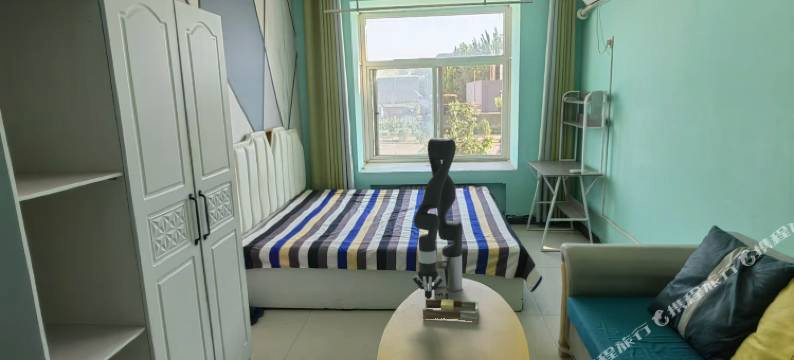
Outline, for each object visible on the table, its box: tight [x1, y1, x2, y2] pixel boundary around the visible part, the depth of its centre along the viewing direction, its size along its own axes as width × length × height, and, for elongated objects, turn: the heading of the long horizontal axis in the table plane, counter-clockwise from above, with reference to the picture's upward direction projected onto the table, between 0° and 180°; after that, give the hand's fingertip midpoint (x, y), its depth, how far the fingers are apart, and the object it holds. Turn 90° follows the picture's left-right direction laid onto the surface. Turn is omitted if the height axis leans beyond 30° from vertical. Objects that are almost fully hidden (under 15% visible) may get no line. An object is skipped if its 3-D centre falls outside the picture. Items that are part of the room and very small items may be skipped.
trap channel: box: [422, 298, 479, 324], centre depth 193 cm, size 10×23×6 cm, turn 79°
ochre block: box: [441, 298, 455, 311], centre depth 193 cm, size 5×5×4 cm
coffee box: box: [433, 260, 450, 300], centre depth 208 cm, size 9×6×16 cm
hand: (428, 298), depth 193 cm, fingers closed
